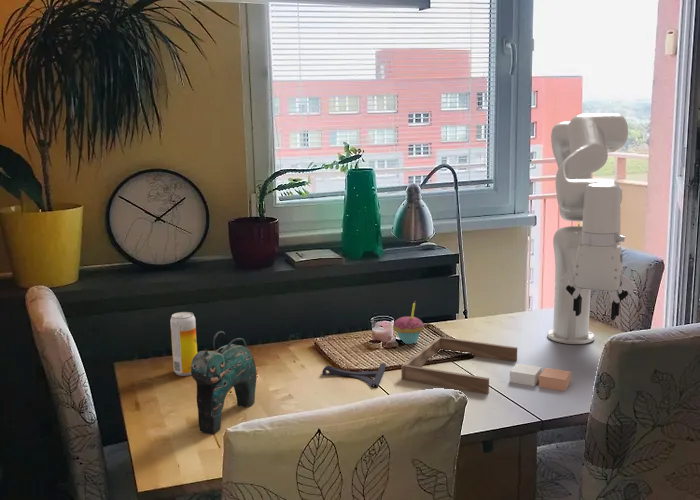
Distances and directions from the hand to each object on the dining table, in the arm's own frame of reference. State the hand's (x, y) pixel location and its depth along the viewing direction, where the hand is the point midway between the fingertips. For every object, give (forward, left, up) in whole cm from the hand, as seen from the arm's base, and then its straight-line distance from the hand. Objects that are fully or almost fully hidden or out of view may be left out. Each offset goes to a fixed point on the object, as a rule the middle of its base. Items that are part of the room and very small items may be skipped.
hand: (595, 315), depth 170 cm
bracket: (+15, -54, -19) cm, 59 cm away
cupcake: (-15, -52, -18) cm, 57 cm away
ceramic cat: (+49, -67, -18) cm, 85 cm away
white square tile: (0, -15, -18) cm, 24 cm away
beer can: (+31, -93, -18) cm, 100 cm away
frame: (0, -31, -18) cm, 36 cm away
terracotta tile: (0, -8, -18) cm, 20 cm away
